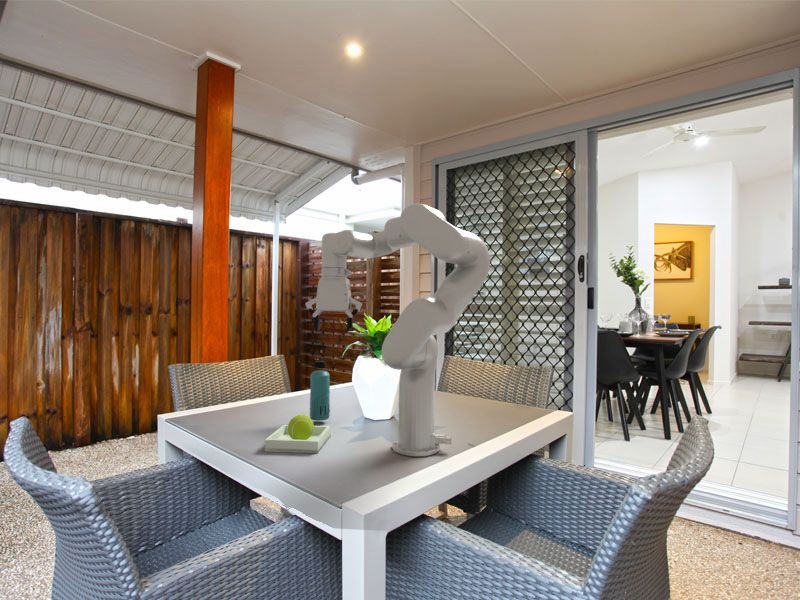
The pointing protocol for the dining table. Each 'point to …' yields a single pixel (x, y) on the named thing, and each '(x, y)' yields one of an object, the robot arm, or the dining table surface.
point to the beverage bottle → (319, 393)
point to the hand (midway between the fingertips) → (333, 330)
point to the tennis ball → (300, 427)
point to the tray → (297, 441)
